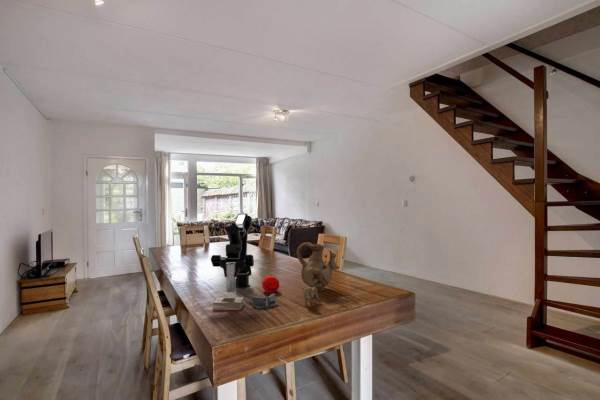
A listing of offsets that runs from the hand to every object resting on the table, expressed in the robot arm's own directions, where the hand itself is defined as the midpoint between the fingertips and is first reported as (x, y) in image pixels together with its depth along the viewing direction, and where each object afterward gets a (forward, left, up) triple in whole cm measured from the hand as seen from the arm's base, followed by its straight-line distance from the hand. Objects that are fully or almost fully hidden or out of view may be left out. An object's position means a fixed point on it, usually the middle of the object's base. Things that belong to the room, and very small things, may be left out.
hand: (230, 276), depth 133 cm
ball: (-28, -6, -14) cm, 32 cm away
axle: (-1, -1, -7) cm, 7 cm away
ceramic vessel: (-47, +10, -14) cm, 50 cm away
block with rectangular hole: (0, -2, -13) cm, 14 cm away
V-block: (-13, +7, -13) cm, 20 cm away
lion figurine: (-28, +23, -14) cm, 39 cm away
